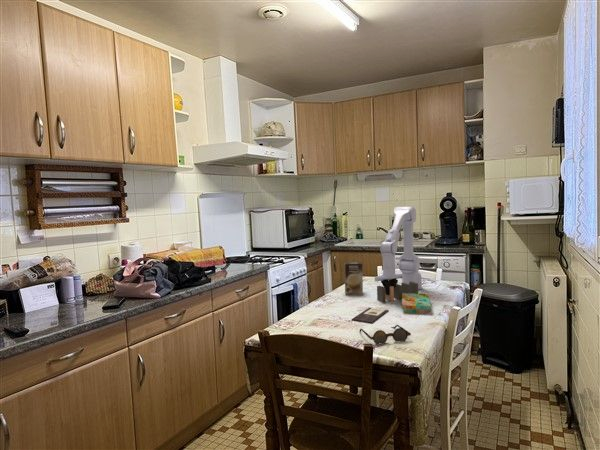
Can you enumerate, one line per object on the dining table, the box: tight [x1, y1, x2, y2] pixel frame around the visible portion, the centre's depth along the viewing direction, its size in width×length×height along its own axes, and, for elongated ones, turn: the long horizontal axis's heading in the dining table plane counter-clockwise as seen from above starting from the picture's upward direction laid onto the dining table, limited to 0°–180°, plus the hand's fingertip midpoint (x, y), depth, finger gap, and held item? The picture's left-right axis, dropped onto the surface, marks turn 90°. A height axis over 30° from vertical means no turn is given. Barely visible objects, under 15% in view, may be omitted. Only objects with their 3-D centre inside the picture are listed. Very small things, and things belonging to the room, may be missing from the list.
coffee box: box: [344, 261, 364, 296], centre depth 201 cm, size 9×6×16 cm
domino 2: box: [385, 285, 395, 302], centre depth 187 cm, size 2×5×7 cm, turn 19°
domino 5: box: [409, 281, 419, 294], centre depth 191 cm, size 2×5×7 cm, turn 18°
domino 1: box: [376, 285, 387, 304], centre depth 185 cm, size 2×5×7 cm, turn 18°
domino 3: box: [394, 283, 402, 301], centre depth 188 cm, size 2×5×7 cm, turn 18°
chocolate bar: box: [351, 307, 389, 325], centre depth 165 cm, size 9×1×18 cm
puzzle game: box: [401, 292, 432, 314], centre depth 174 cm, size 12×5×20 cm
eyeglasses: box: [359, 324, 412, 345], centre depth 142 cm, size 15×15×5 cm
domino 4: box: [400, 282, 410, 293], centre depth 189 cm, size 2×5×7 cm, turn 18°
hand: (389, 294), depth 187 cm, fingers closed on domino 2, 2 cm apart
